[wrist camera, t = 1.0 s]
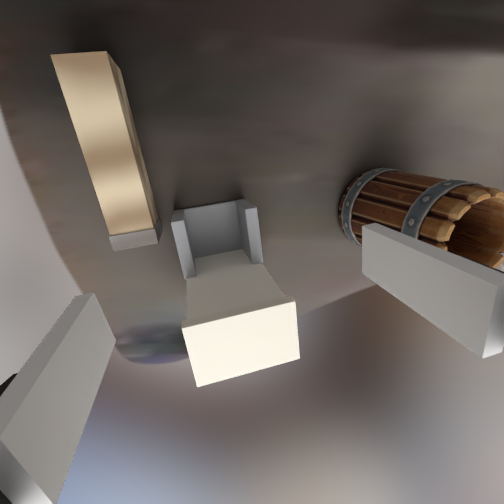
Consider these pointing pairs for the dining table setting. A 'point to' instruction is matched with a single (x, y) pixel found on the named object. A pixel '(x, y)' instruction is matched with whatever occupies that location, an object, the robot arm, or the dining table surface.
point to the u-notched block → (231, 294)
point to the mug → (428, 212)
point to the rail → (110, 146)
